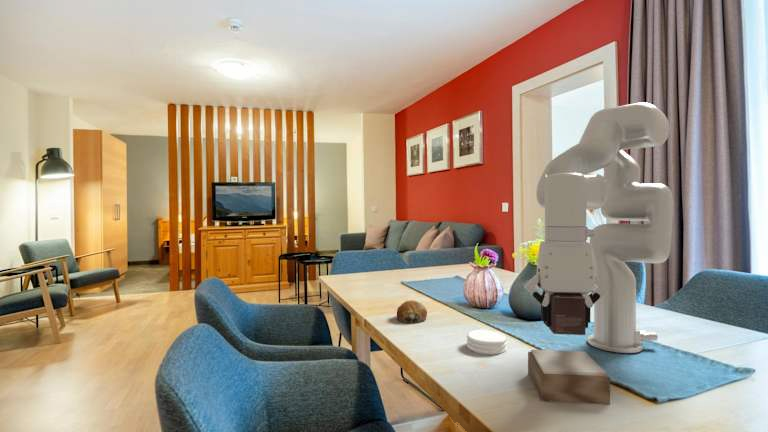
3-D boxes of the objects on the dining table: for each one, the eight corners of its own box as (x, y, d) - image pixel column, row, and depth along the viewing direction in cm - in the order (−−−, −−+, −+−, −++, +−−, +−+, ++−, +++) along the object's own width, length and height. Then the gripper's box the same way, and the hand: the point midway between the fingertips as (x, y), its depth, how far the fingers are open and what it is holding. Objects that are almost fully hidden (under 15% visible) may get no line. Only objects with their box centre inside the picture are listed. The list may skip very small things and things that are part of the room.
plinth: (586, 376, 86) (586, 350, 86) (610, 404, 74) (610, 374, 74) (528, 374, 87) (527, 348, 87) (542, 400, 75) (541, 371, 75)
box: (586, 336, 77) (586, 298, 76) (552, 334, 78) (552, 296, 78) (577, 327, 83) (577, 291, 82) (546, 325, 84) (546, 290, 84)
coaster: (459, 345, 107) (459, 332, 107) (490, 339, 111) (490, 327, 111) (482, 358, 98) (482, 343, 98) (515, 352, 101) (515, 338, 101)
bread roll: (429, 330, 132) (434, 305, 134) (416, 324, 124) (421, 298, 126) (403, 325, 137) (408, 302, 140) (389, 319, 129) (394, 295, 132)
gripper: (603, 234, 82) (603, 321, 83) (516, 234, 85) (516, 319, 85) (620, 236, 75) (619, 332, 75) (523, 236, 77) (524, 329, 78)
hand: (565, 324), depth 80 cm, fingers closed on box, 6 cm apart
